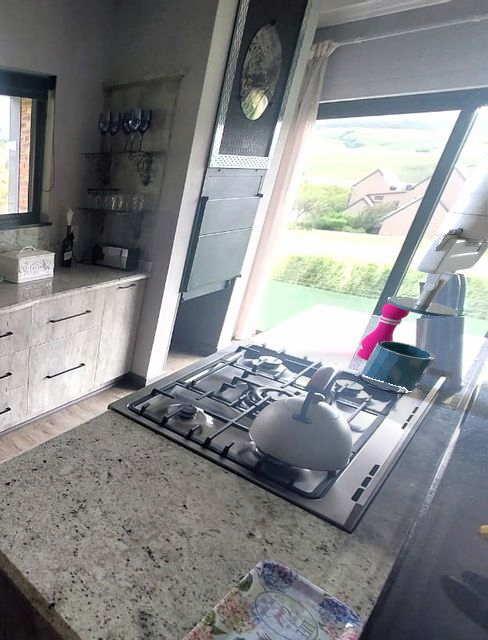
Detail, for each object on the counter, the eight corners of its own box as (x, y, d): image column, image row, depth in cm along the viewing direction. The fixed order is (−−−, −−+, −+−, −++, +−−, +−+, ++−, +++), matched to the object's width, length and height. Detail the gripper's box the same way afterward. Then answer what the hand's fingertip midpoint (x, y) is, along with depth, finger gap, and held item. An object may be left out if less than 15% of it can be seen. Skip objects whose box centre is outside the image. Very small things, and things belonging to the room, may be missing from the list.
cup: (421, 388, 112) (443, 354, 107) (400, 397, 108) (422, 362, 102) (372, 370, 121) (390, 338, 116) (351, 377, 117) (369, 344, 111)
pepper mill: (381, 364, 125) (417, 302, 115) (352, 356, 130) (384, 296, 120) (386, 358, 129) (421, 298, 119) (358, 350, 134) (389, 292, 124)
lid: (465, 315, 96) (486, 284, 92) (441, 322, 91) (462, 289, 87) (400, 299, 106) (417, 269, 102) (375, 304, 101) (392, 273, 97)
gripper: (468, 232, 82) (428, 297, 89) (507, 229, 91) (468, 289, 97) (428, 227, 87) (394, 289, 94) (468, 224, 95) (434, 281, 102)
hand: (432, 289), depth 96 cm, fingers closed on lid, 2 cm apart
